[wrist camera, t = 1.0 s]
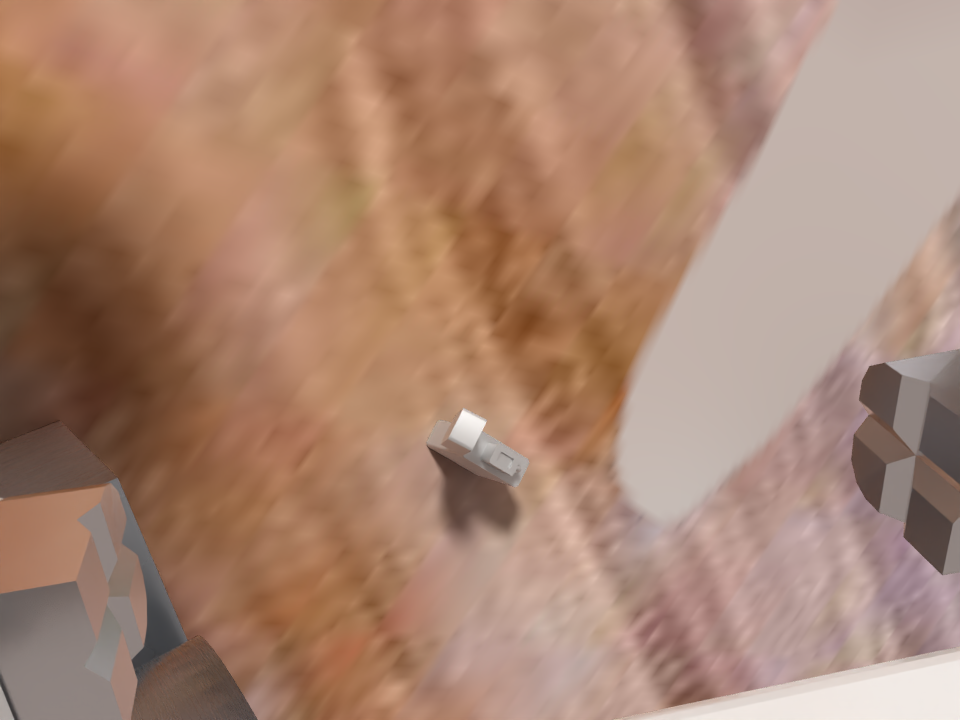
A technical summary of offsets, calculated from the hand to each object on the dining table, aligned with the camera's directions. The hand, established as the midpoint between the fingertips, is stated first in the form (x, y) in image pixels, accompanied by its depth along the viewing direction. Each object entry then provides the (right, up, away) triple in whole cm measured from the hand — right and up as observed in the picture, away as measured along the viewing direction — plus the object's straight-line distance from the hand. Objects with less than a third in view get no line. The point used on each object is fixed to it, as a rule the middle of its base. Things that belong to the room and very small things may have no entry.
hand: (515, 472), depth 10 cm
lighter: (-3, -3, +43) cm, 43 cm away
